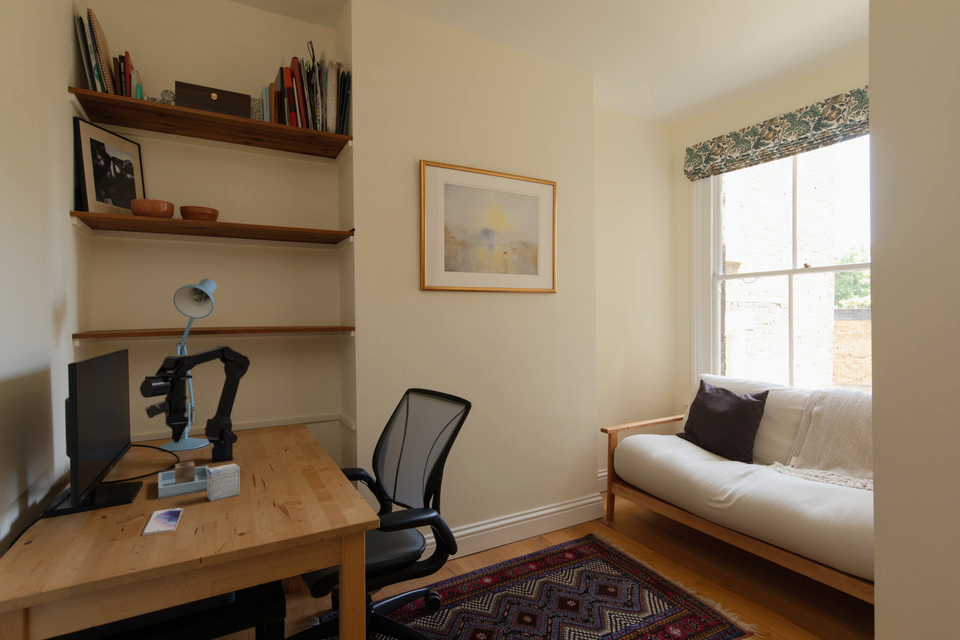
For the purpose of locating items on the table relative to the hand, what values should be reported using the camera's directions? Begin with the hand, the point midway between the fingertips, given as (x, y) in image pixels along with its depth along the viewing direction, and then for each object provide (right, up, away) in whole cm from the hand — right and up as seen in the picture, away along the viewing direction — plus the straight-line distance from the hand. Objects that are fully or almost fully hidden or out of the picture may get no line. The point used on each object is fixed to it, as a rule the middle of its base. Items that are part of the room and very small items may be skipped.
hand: (176, 439), depth 160 cm
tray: (+9, -12, -9) cm, 18 cm away
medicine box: (+25, -13, -18) cm, 33 cm away
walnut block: (+9, -12, -9) cm, 17 cm away
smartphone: (+19, -13, -35) cm, 42 cm away
